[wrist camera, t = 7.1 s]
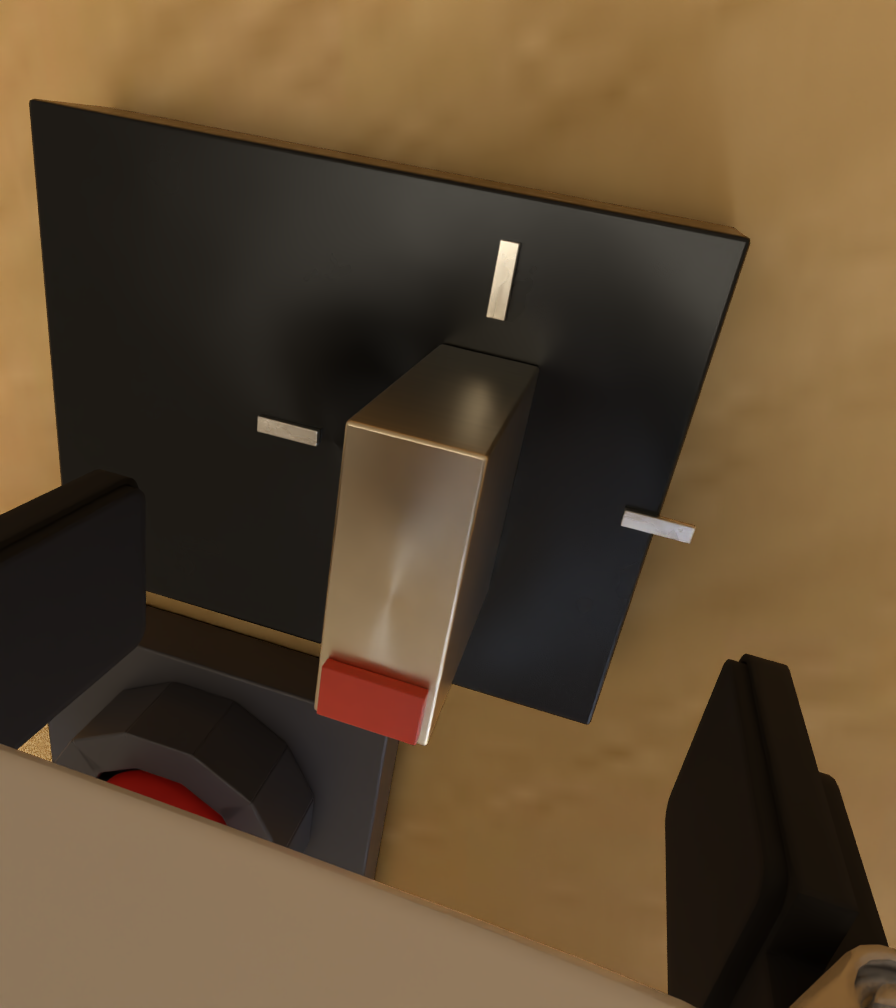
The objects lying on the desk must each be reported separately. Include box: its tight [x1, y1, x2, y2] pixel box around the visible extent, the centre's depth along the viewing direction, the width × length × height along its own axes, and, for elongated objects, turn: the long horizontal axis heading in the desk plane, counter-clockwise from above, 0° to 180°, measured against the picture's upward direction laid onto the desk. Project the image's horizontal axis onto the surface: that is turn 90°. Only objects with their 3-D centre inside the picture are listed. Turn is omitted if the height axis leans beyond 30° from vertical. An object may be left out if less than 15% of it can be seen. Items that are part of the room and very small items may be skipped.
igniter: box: [48, 605, 399, 880], centre depth 22 cm, size 11×9×4 cm
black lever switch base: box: [29, 99, 750, 724], centre depth 17 cm, size 15×11×3 cm
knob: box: [314, 344, 539, 745], centre depth 13 cm, size 5×2×5 cm, turn 170°
